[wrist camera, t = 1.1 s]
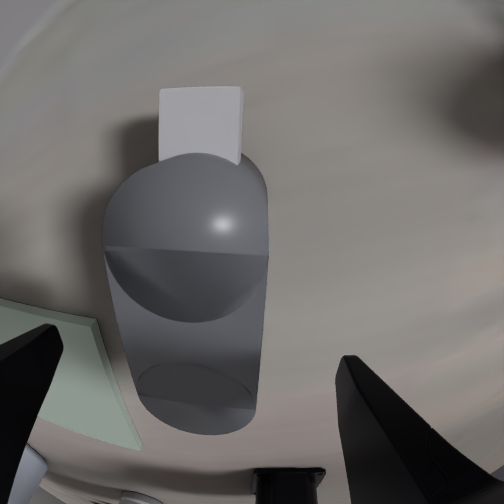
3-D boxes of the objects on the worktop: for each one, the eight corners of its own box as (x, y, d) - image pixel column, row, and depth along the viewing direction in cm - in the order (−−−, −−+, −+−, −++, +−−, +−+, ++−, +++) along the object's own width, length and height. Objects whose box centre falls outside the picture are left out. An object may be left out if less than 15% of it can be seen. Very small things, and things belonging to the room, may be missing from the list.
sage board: (142, 444, 21) (140, 451, 20) (25, 404, 21) (22, 409, 20) (96, 318, 15) (90, 327, 15) (-32, 289, 16) (-37, 294, 15)
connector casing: (257, 353, 16) (252, 439, 11) (176, 346, 16) (148, 425, 11) (273, 99, 11) (279, 75, 6) (164, 99, 11) (94, 86, 6)
